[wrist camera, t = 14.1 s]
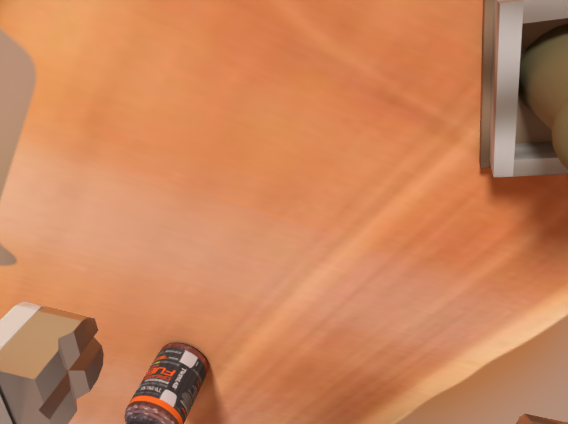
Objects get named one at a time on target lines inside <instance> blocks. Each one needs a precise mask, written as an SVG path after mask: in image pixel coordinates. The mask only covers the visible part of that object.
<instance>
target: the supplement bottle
mask: <svg viewBox="0 0 568 424" xmlns="http://www.w3.org/2000/svg"><path fill="white" fill-rule="evenodd" d="M207 372H208V364H207V361H206V359H205V357H204V356H203V355H202V354H201V353H200V352H199V351H198V350H197V349H195V348H194V347H192V346H190V345H187V344H184V343H169V344H167V345H165V346H164V347H163V348H162V349H161V351H160V352H159V353H158V355H157V357H156V358H155V360H154V362H153V364H152V365H151V366H150V369H149V370H148V372H147V374H146V376H145V377H144V379H143V381H142V382H141V384H140V386H139V387H138V389H137V391H136V393H135V394H134V396H133V398H132V399H131V401H130V403H129V405H128V406H127V408H126V411H125V422H126V424H184V422H185V420H186V418H187V416H188V413H189V411H190V409H191V407H192V405H193V403H194V401H195V398H196V396H197V394H198V392H199V390H200V388H201V385H202V383H203V381H204V379H205V377H206V374H207Z"/></svg>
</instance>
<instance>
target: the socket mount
mask: <svg viewBox="0 0 568 424" xmlns="http://www.w3.org/2000/svg"><path fill="white" fill-rule="evenodd" d="M565 24H568V0H483V34H482V78H481V121H480V167H481V168H491V170H492V174H493V177H514V176H536V175H558V174H568V169H566V168H565V167H564V166H563V165H562V164H561V162H560V160H559V158H558V156H557V154H556V152H555V150H554V148H553V142H552V130H551V129H550V128H549V127H548V126H547V125H546V124H545V123H544V122H543V121H542V120H540V119H539V118H538V117H537V116H536V115H535V114H534V113H533V112H532V111H531V110H530V109H529V108H528V107H527V106H526V105H525V104H524V103H523V102H522V100H521V98H520V96H519V94H518V87H519V71H520V60H521V58H522V56H523V55H524V53H525V51H526V50H527V48H528V47H529V46H530V45H531V44H532V43H533V42H534V41H535V40H536V39H538V38H539V37H540V36H541V35H542V34H544V33H546V32H548V31H550V30H552V29H553V28H555V27H557V26H561V25H565Z"/></svg>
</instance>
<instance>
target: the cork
mask: <svg viewBox="0 0 568 424" xmlns="http://www.w3.org/2000/svg"><path fill="white" fill-rule="evenodd" d="M518 94H519V96H520V98H521V100H522V102H523V103H524V104H525V105H526V106H527V107H528V108H529V109H530V110H531V111H532V112H533V113H534V114H535V115H536V116H537V117H538V118H539V119H540V120H542V121H543V122H544V123H545V124H546V125H547V126H548V127H549V128H550V129H551V130H552V142H553V148H554V150H555V152H556V154H557V156H558V158H559V160H560V162H561V164H562V165H563V166H564V167H565V168H566V169H568V24H565V25H561V26H557V27H555V28H553V29H552V30H550V31H548V32H546V33H544V34H542V35H541V36H540V37H539V38H538V39H536V40H535V41H534V42H533V43H532V44H531V45H530V46H529V47H528V48H527V50H526V51H525V53H524V55H523V56H522V58H521V60H520V71H519V87H518Z"/></svg>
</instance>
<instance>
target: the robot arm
mask: <svg viewBox="0 0 568 424" xmlns="http://www.w3.org/2000/svg"><path fill="white" fill-rule="evenodd" d="M97 331H98V328H97V325H96V321H95V319H94V318H90V317H86V316H82V315H78V314H74V313H70V312H66V311H62V310H58V309H54V308H50V307H47V306H42V305H38V304H34V303H29V302H25V301H24V302H21V303H19V304H17V305H15V306H14V307H13V308H12V309H11V310H10V311H9V312H8V313H7V314H6V315H5V316H4V317H3V318H2V319H1V320H0V424H68V423H69V422H70V420H71V419H72V417H73V416H74V414H75V413H76V411H77V403H76V399H78V398H79V397H81V396H83V395H85V394H86V393H88V392H90V390H91V389H92V387H93V386H94V384H95V383H96V381H97V380H98V377H99V374H100V371H101V369H102V366H103V355H104V354H103V349H102V346H101V344H100V343H99V342H98V341H97V340H96V339H95V338H94V336H95V334H96V333H97ZM516 424H568V423H567V422H561V421H557V420H552V419H548V418H542V417H538V416H533V415H529V414H524V415H522V416H521V417H520V418H519V420H518V421H517V423H516Z"/></svg>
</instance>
